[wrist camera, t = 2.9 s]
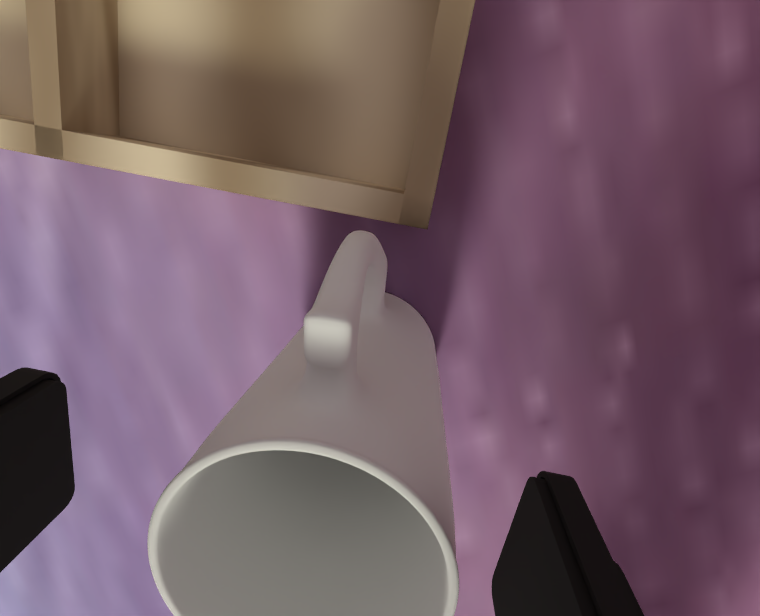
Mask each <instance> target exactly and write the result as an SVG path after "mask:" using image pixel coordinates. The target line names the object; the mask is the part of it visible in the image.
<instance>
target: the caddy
mask: <svg viewBox="0 0 760 616" xmlns="http://www.w3.org/2000/svg"><path fill="white" fill-rule="evenodd" d="M474 3H475V0H0V148H2V149H7V150H12V151H18V152H23V153H28V154H33V155H39V156H44V157H49V158H54V159H60V160H65V161H70V162H75V163H81V164H86V165H91V166H97V167H102V168H107V169H112V170H118V171H123V172H128V173H133V174H139V175H144V176H149V177H154V178H160V179H165V180H170V181H175V182H181V183H186V184H191V185H196V186H202V187H207V188H212V189H217V190H223V191H228V192H233V193H238V194H244V195H249V196H254V197H260V198H265V199H270V200H275V201H281V202H286V203H291V204H296V205H302V206H307V207H312V208H317V209H323V210H328V211H333V212H338V213H344V214H349V215H354V216H359V217H365V218H370V219H375V220H380V221H386V222H391V223H396V224H402V225H407V226H412V227H417V228H423V229H428V224H429V219H430V215H431V210H432V205H433V200H434V195H435V191H436V186H437V181H438V176H439V171H440V167H441V162H442V157H443V152H444V147H445V143H446V138H447V133H448V128H449V123H450V119H451V114H452V109H453V104H454V99H455V95H456V90H457V85H458V80H459V75H460V71H461V66H462V61H463V56H464V51H465V47H466V42H467V37H468V32H469V27H470V23H471V18H472V13H473V8H474Z"/></svg>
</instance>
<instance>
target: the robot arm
mask: <svg viewBox="0 0 760 616" xmlns="http://www.w3.org/2000/svg"><path fill="white" fill-rule="evenodd" d="M74 490H75V484H74V472H73V461H72V449H71V438H70V426H69V415H68V404H67V392H66V387H65V385H64V384H63V383H62V382H61V381H60V378H59V377H58V375H57V374H55V373H51V372H46V371H41V370H36V369H31V368H20V369H17V370H15V371H13V372H11V373H9V374H8V375H6V376H4V377H2V378H0V572H1V571H2V570H3V569H4V568H5V567H6V566H7V565H8V564H9V563H10V562H11V561H12V560H13V559H14V558H15V557H16V556H17V555H18V554H19V553H20V552H21V551H22V550H23V549H24V548H25V547H26V546H27V545H28V544H29V543H30V542H31V541H32V540H33V539H34V538H35V537H36V536H37V535H38V534H39V533H40V532H41V531H42V530H43V529H44V528H45V527H46V526H47V525H48V524H49V523H50V522H51V521H52V520H53V519H54V518H56V517H57V516H58V515H59V514H60V513H61V512H62V511H63V510H64V509H65V507H66V506H67V505H68V504H69V502H70V501H71V499H72V497H73V494H74ZM492 598H493V604H494V610H495V616H644V614H643V612H642V610H641V608H640V606H639V604H638V602H637V600H636V598H635V596H634V594H633V592H632V589H631V587H630V585H629V583H628V581H627V579H626V577H625V575H624V573H623V572H622V570H621V568H620V567H619V565H618V564H617V563H615V562H614V561H613V559H612V557H611V555H610V553H609V551H608V549H607V547H606V544H605V542H604V540H603V538H602V536H601V534H600V532H599V530H598V527H597V525H596V523H595V521H594V519H593V517H592V515H591V513H590V511H589V508H588V506H587V504H586V502H585V500H584V498H583V496H582V494H581V491H580V489H579V487H578V485H577V483H576V481H575V480H574V478H572V477H571V476H566V475H561V474H556V473H551V472H546V471H541V472H540V473H539V474H538V475H537V478H536V477H529V479H528V480H527V482H526V485H525V488H524V491H523V494H522V496H521V499H520V502H519V505H518V507H517V510H516V513H515V516H514V519H513V521H512V524H511V527H510V530H509V533H508V535H507V538H506V541H505V544H504V546H503V549H502V552H501V555H500V558H499V560H498V563H497V566H496V569H495V571H494V575H493V579H492Z"/></svg>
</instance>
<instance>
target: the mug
mask: <svg viewBox="0 0 760 616" xmlns="http://www.w3.org/2000/svg"><path fill="white" fill-rule="evenodd" d="M386 277H387V258H386V255H385V253H384V250H383V248H382V246H381V244H380V242H379V240H378V239H377V237H376V236H375V235H374V234H372V233H370V232H368V231H361V230H358V231H353V232H351V233H349V234H348V235H347V237H346V238H345V239H344V241H343V242H342V244H341V245H340V247H339V249H338V250H337V252H336V254H335V256H334V258H333V260H332V262H331V264H330V266H329V269H328V271H327V273H326V275H325V278H324V280H323V283H322V285H321V288H320V290H319V293H318V295H317V298H316V300H315V302H314V305H313V307H312V309H311V310H310V311H309V312H308V313H307V314H306V316H305V317H304V326H303V327H302V328H301V329H300V330H299V331H298V332H297V334H296V335H295V336H294V337H293V338H292V339H291V341H290V342H289V343H288V344H287V345H286V347H285V348H284V349H283V350H282V351H281V352H280V354H279V355H278V356H277V357H276V358H275V359H274V360H273V362H272V363H271V364H270V365H269V366H268V367H267V369H266V370H265V371H264V372H263V373H262V374H261V375H260V377H259V378H258V379H257V380H256V381H255V382H254V384H253V385H252V386H251V387H250V388H249V389H248V390H247V392H246V393H245V394H244V395H243V396H242V397H241V398H240V400H239V401H238V402H237V403H236V404H235V405H234V406H233V408H232V409H231V410H230V411H229V412H228V413H227V415H226V416H225V417H224V418H223V419H222V420H221V422H220V423H219V424H218V425H217V426H216V427H215V429H214V430H213V431H212V432H211V433H210V435H209V436H208V437H207V438H206V440H205V441H204V442H203V444H202V445H201V446H200V447H199V449H198V450H197V451H196V453H195V454H194V455H193V457H192V458H191V459H190V461H189V462H188V463H187V464H186V466H185V467H184V468H183V469H182V471H181V472H179V473H178V474H177V475H176V476H175V477H174V478H173V480H172V481H171V482H170V483H169V484H168V486H167V487H166V488H165V490H164V491H163V493H162V494H161V496H160V498H159V500H158V502H157V504H156V506H155V508H154V510H153V513H152V516H151V520H150V524H149V530H148V556H149V562H150V567H151V571H152V574H153V577H154V580H155V583H156V585H157V588H158V590H159V592H160V594H161V596H162V598H163V600H164V601H165V603H166V605H167V606H168V608H169V609H170V611H171V612H172V613H173V615H174V616H454V613H455V610H456V606H457V601H458V593H459V573H458V565H457V561H456V547H455V526H454V511H453V501H452V491H451V482H450V473H449V464H448V455H447V446H446V437H445V428H444V419H443V410H442V400H441V390H440V380H439V372H438V366H437V359H436V350H435V344H434V340H433V336H432V334H431V331H430V329H429V327H428V325H427V323H426V322H425V320H424V319H423V317H422V316H421V315H420V314H419V313H418V312H417V311H416V310H415V309H414V308H413V307H412V306H411V305H410V304H408V303H407V302H405V301H404V300H402V299H400V298H398V297H396V296H394V295H392V294H389V293H385V286H386Z"/></svg>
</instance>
